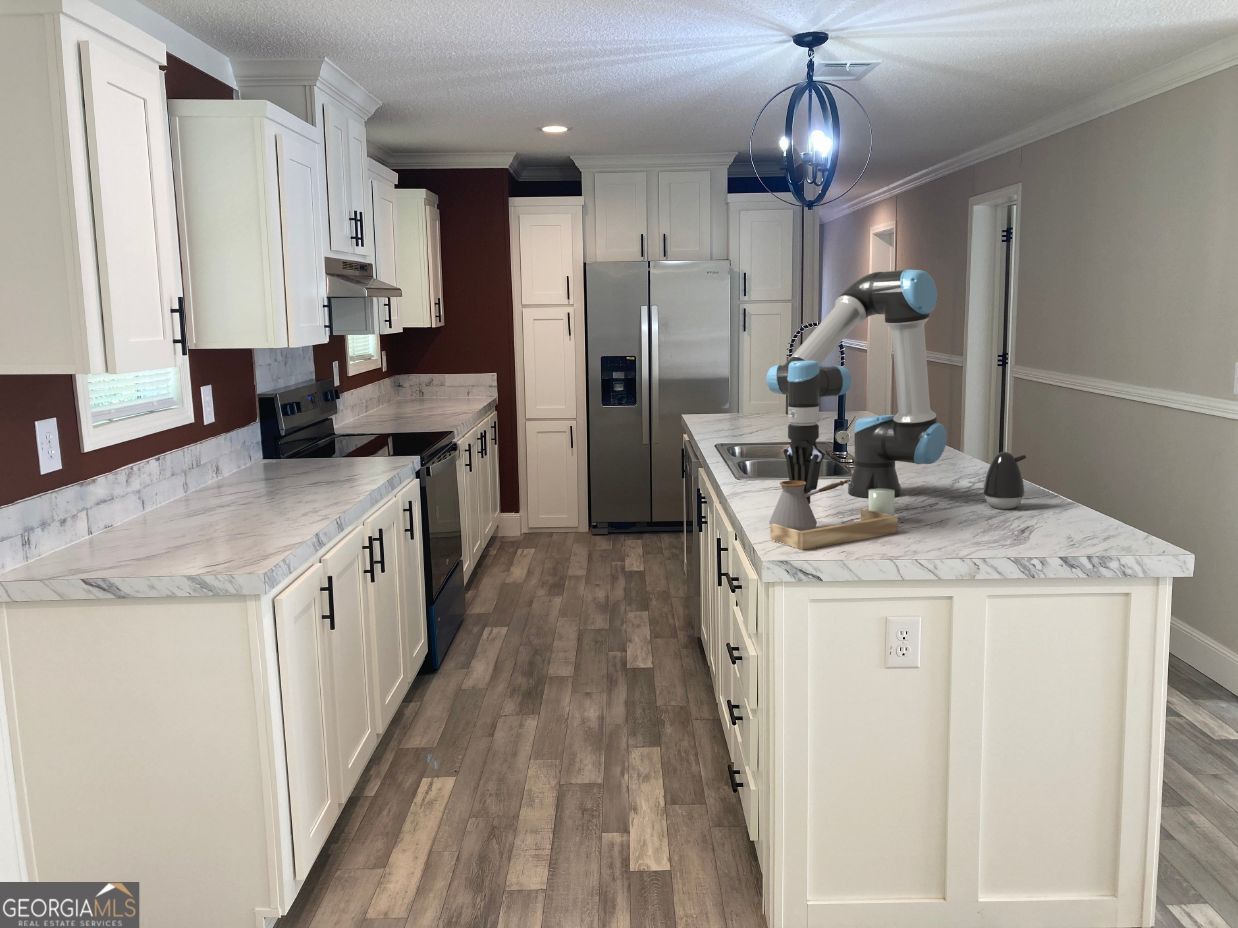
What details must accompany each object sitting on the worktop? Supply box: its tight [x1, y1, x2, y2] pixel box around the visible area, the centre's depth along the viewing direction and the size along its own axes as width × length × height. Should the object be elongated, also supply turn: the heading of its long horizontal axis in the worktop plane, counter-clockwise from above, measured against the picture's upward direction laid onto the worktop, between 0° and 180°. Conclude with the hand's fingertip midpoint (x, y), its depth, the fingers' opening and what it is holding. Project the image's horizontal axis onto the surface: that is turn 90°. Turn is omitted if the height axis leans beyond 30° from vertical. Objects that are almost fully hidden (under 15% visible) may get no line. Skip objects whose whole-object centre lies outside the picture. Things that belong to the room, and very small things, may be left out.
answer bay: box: [769, 508, 899, 551], centre depth 225 cm, size 12×30×4 cm, turn 119°
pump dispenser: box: [983, 451, 1027, 510], centre depth 251 cm, size 10×10×15 cm
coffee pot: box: [768, 478, 853, 531], centre depth 225 cm, size 21×12×15 cm, turn 50°
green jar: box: [867, 488, 896, 516], centre depth 240 cm, size 6×6×8 cm
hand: (803, 516), depth 235 cm, fingers closed
